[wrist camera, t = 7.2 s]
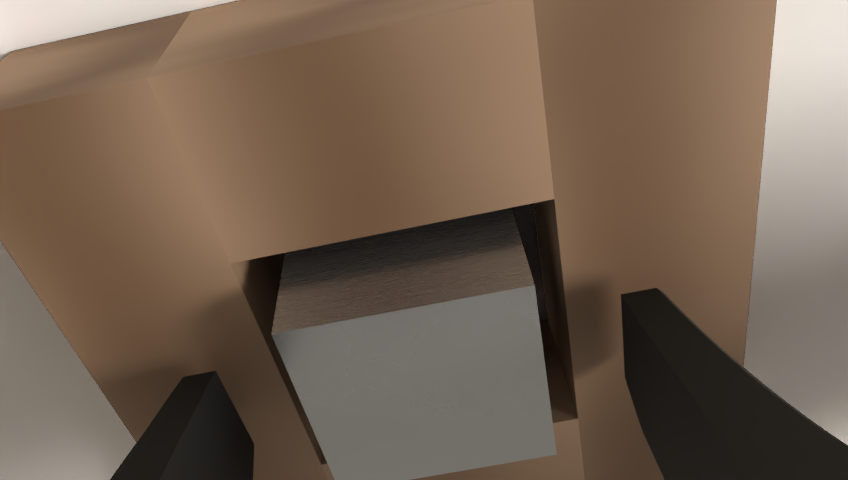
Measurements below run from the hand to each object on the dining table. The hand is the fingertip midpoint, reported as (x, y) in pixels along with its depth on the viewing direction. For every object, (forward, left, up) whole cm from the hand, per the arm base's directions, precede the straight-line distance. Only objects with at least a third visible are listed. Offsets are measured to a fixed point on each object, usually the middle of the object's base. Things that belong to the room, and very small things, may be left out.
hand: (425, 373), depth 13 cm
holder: (0, 0, -4) cm, 4 cm away
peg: (0, 0, -4) cm, 4 cm away
